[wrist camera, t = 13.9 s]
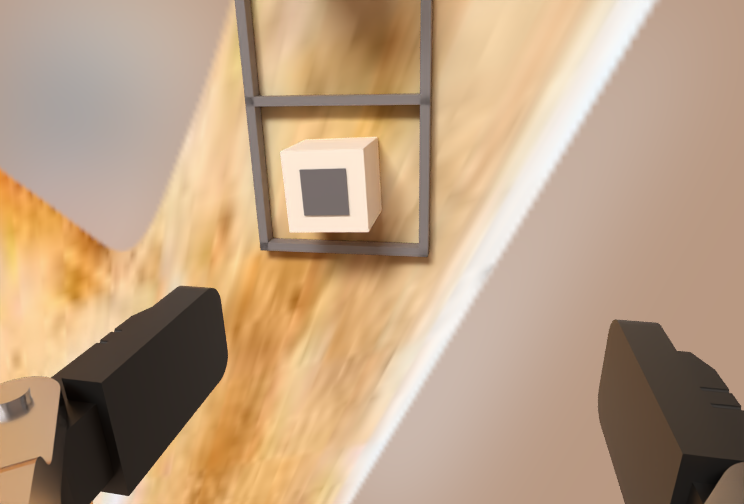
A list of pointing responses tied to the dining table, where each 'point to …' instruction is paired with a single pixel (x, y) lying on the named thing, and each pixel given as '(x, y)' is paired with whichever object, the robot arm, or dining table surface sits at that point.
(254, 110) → the frame
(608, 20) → the dining table surface
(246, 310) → the dining table surface
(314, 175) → the white and grey cube
